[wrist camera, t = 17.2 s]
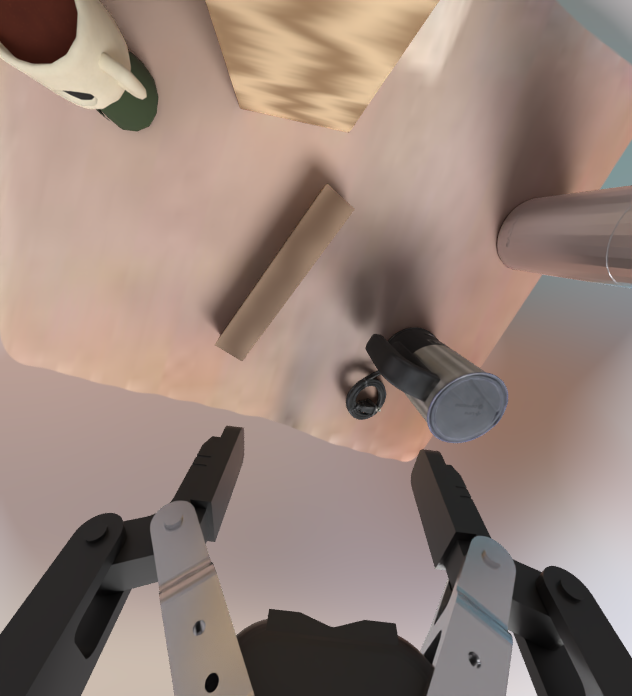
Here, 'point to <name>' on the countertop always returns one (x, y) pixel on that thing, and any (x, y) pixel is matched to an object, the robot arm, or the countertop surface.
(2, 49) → the character mug
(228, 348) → the rod
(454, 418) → the milk frother
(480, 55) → the countertop surface
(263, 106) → the stand
